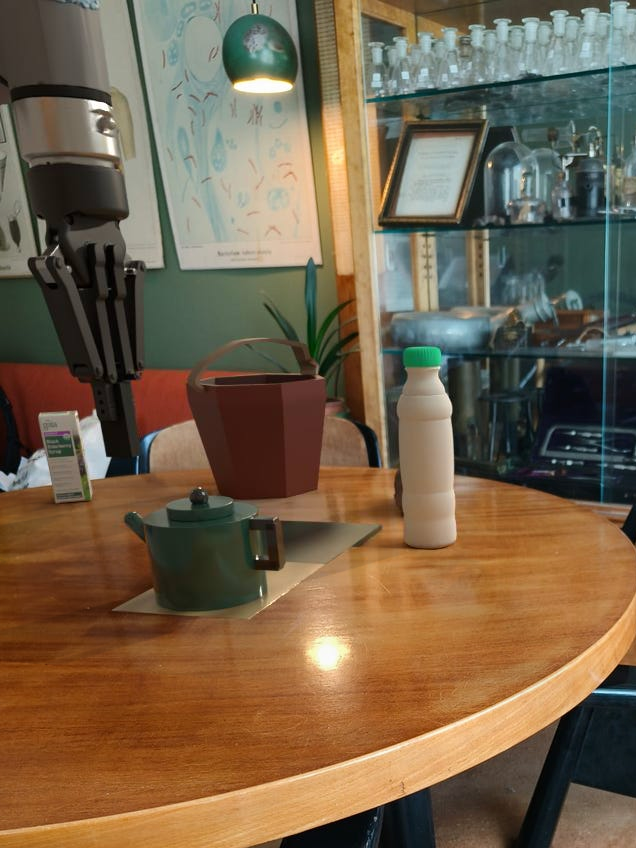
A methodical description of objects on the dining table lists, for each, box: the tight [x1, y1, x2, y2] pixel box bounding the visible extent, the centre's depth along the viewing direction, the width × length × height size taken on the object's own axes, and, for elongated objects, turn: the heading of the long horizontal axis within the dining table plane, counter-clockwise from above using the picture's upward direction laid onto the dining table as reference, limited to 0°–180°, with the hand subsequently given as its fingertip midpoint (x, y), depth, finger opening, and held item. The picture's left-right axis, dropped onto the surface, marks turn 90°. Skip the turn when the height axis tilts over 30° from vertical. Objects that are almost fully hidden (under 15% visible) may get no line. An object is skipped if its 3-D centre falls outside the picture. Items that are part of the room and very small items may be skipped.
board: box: [111, 519, 383, 621], centre depth 110 cm, size 16×40×1 cm, turn 166°
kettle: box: [123, 487, 286, 612], centre depth 96 cm, size 18×12×12 cm, turn 76°
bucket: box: [185, 337, 327, 500], centre depth 150 cm, size 24×22×25 cm
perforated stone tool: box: [393, 467, 403, 512], centre depth 137 cm, size 15×5×7 cm, turn 1°
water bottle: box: [396, 346, 457, 550], centre depth 114 cm, size 7×7×25 cm
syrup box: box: [37, 410, 94, 505], centre depth 148 cm, size 6×6×14 cm
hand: (124, 455), depth 81 cm, fingers closed
